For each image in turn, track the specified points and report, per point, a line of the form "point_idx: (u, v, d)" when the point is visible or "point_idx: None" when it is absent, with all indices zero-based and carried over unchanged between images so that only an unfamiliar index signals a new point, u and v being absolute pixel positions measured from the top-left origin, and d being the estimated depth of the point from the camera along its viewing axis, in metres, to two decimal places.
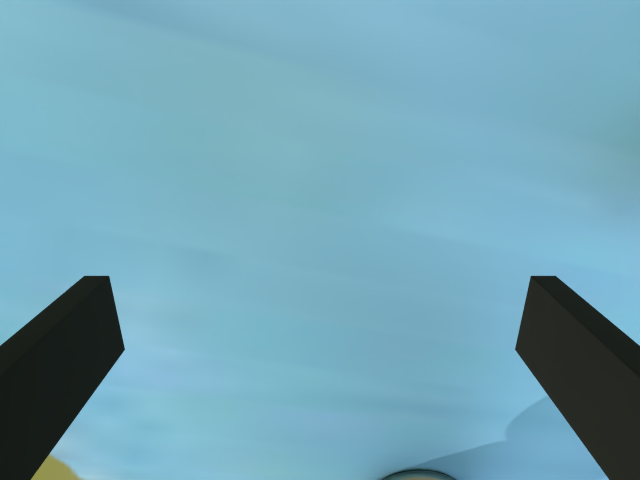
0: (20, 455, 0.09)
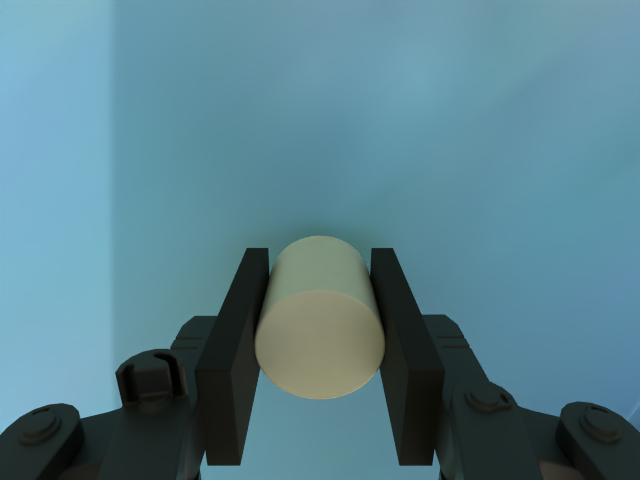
0: (250, 384, 0.11)
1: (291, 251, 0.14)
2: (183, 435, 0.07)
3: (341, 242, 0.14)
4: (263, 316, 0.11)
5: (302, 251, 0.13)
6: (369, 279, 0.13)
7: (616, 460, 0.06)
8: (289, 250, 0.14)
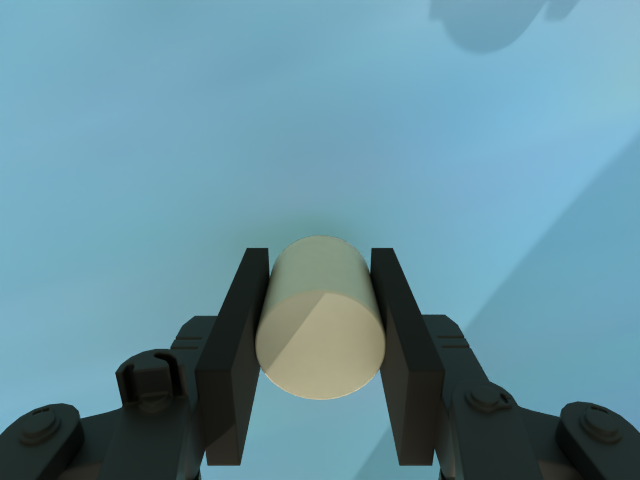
0: (250, 384, 0.11)
1: (292, 251, 0.14)
2: (183, 435, 0.07)
3: (342, 242, 0.14)
4: (264, 316, 0.11)
5: (302, 251, 0.13)
6: (370, 279, 0.13)
7: (615, 459, 0.07)
8: (290, 250, 0.14)
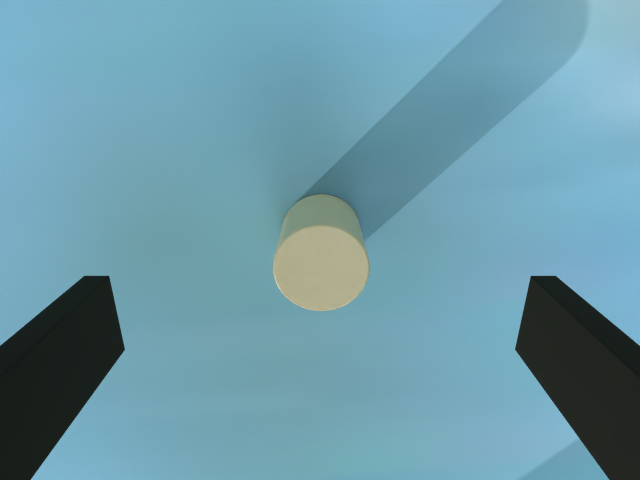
0: (20, 456, 0.09)
1: (299, 205, 0.18)
2: None
3: (338, 199, 0.18)
4: (280, 245, 0.15)
5: (307, 204, 0.17)
6: (359, 225, 0.17)
7: None
8: (297, 204, 0.18)
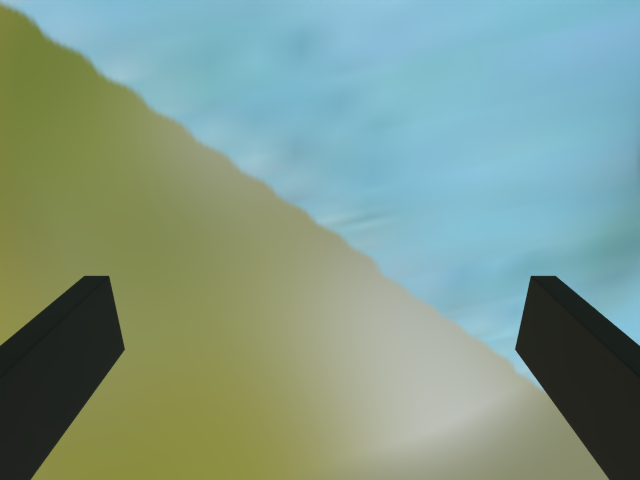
0: (20, 455, 0.09)
1: None
2: None
3: None
4: None
5: None
6: None
7: None
8: None
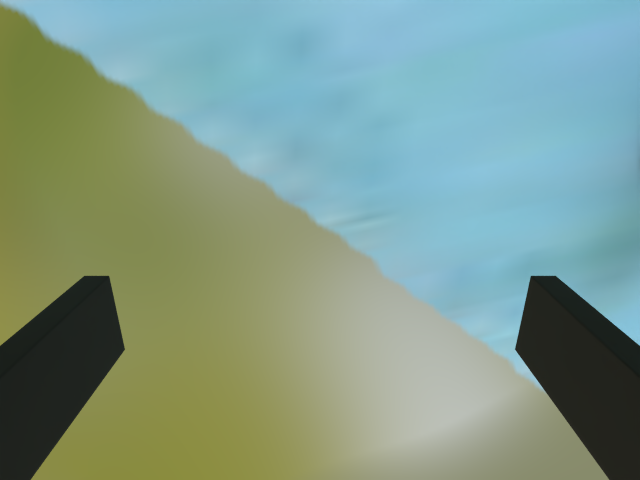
0: (20, 455, 0.09)
1: None
2: None
3: None
4: None
5: None
6: None
7: None
8: None
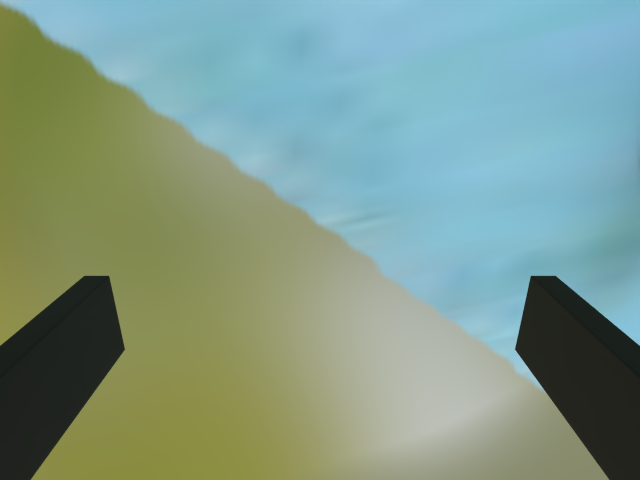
0: (20, 455, 0.09)
1: None
2: None
3: None
4: None
5: None
6: None
7: None
8: None
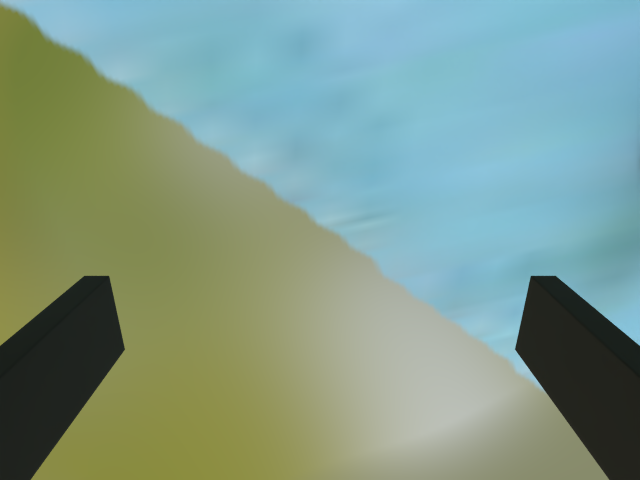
0: (20, 455, 0.09)
1: None
2: None
3: None
4: None
5: None
6: None
7: None
8: None
